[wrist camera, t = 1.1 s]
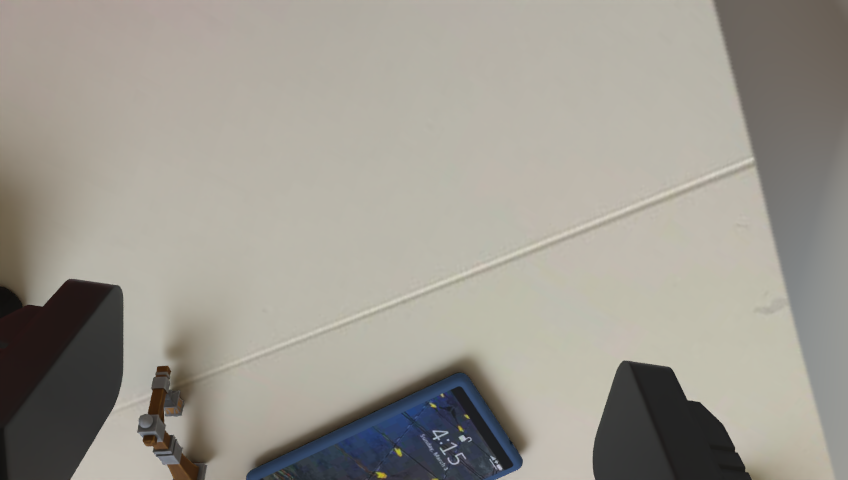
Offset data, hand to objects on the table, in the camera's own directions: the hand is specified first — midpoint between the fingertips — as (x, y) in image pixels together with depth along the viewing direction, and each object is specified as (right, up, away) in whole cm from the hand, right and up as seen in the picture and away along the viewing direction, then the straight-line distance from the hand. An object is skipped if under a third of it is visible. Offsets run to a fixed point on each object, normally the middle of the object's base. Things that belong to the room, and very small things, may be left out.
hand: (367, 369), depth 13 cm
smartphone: (-1, -11, +34) cm, 36 cm away
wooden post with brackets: (-13, -8, +33) cm, 37 cm away
